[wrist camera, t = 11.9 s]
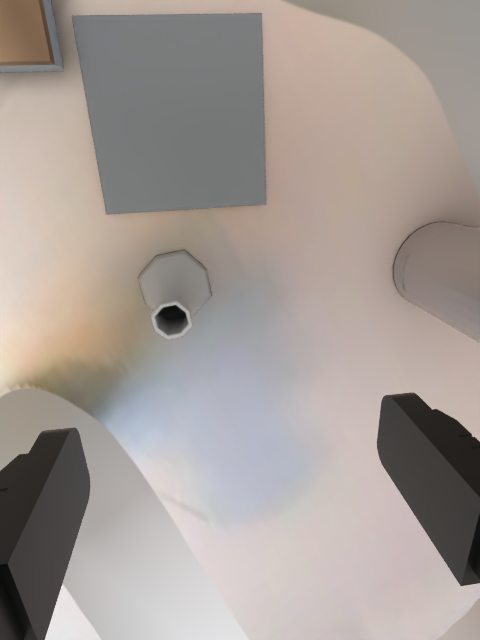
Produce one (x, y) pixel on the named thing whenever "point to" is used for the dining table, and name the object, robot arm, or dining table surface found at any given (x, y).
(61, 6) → the dining table surface
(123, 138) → the rubber mat
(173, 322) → the flask
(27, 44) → the walnut lid
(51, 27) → the blue storage bin
